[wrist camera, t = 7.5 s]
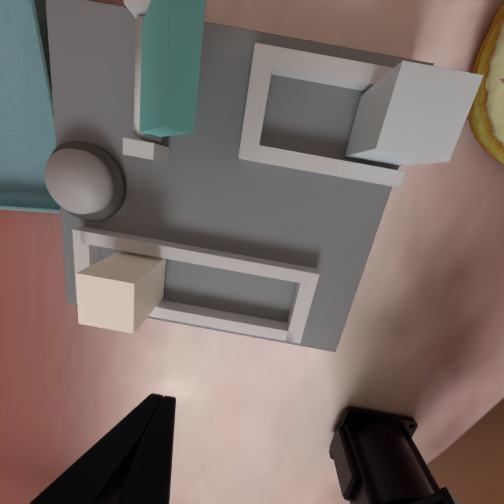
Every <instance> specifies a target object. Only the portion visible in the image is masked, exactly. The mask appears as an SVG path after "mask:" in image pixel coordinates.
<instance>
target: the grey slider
mask: <svg viewBox="0 0 504 504" xmlns="http://www.w3.org/2000/svg"><path fill="white" fill-rule="evenodd" d="M483 76H484V75H480V74H474V73H469V72H463V71H458V70H452V69H447V68H441V67H436V66H430V65H425V64H419V63H414V62H408V61H402V62H400V63H399V64H398V65H397V66H396V67H394V68H393V69H392V70H391V71H390V72H389V73H387V74H386V75H385V76H384V77H383V78H382V79H380V80H379V81H378V82H377V83H376V84H374V85H373V86H372V87H371V88H370V89H369V90H367V91H366V92H365V93H364V94H363V95H362V96H361V98H360V102H359V105H358V109H357V113H356V116H355V120H354V124H353V127H352V131H351V135H350V138H349V142H348V146H347V149H346V153H345V157H350V158H355V159H361V160H366V161H372V162H377V163H383V164H388V165H394V166H405V165H417V164H429V163H441V162H449V161H450V158H451V156H452V153H453V151H454V148H455V146H456V143H457V141H458V138H459V136H460V133H461V131H462V128H463V126H464V123H465V121H466V118H467V116H468V113H469V111H470V108H471V106H472V103H473V101H474V98H475V96H476V93H477V91H478V88H479V86H480V83H481V81H482V78H483Z"/></svg>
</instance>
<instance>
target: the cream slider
mask: <svg viewBox="0 0 504 504" xmlns="http://www.w3.org/2000/svg"><path fill="white" fill-rule="evenodd" d="M165 265H166V259H165V258H160V257H154V256H149V255H143V254H138V253H132V252H127V251H121V250H120V251H118V252H116V253H114V254H113V255H111V256H109V257H107V258H105V259H103V260H101V261H99V262H97V263H95V264H93V265H91V266H89V267H87V268H85V269H83V270H81V271H79V272H77V273H76V285H77V303H78V320H79V324H84V325H89V326H95V327H100V328H106V329H111V330H117V331H122V332H128V333H134V332H135V331H136V330H137V328H138V327H139V326H140V325H141V324H142V323H143V321H144V320H145V319H146V318H147V317H148V315H149V314H150V313H151V312H152V311H153V310H154V308H155V307H156V306H157V305H158V304H159V302H160V301H161V300H162V299H163V295H164V280H165Z"/></svg>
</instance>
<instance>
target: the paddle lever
mask: <svg viewBox="0 0 504 504" xmlns="http://www.w3.org/2000/svg"><path fill="white" fill-rule="evenodd" d="M205 6H206V0H151V2H150V4H149V7H148V9H147V12H146V14H145V16H144V17H137V18H136V30H135V82H134V133H133V136H134V137H138V138H142V139H146V140H151V141H157V142H162V137H165V136H173V135H181V134H190V133H194V128H195V117H196V106H197V95H198V84H199V73H200V62H201V50H202V39H203V28H204V17H205Z"/></svg>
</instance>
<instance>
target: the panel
mask: <svg viewBox="0 0 504 504" xmlns="http://www.w3.org/2000/svg"><path fill="white" fill-rule="evenodd" d="M150 2H151V0H124V5H125V6H126V7H127V8H126V7H121V6H115V5H110V4H104V3H99V2H93V1H88V0H46V13H47V27H48V41H49V55H50V69H51V83H52V97H53V111H54V125H55V139H56V148H55V150H54V151H53V152H52V153H51V155H50V157H49V159H48V161H47V163H46V165H45V170H44V178H45V183H46V186H47V189H48V191H49V193H50V195H51V196H52V198H53V199H54V200H55V201H56V202H57V203H58V204H59V205H60V208H61V222H62V236H63V250H64V264H65V278H66V292H67V303H69V304H74V305H78V303H77V285H76V273H77V272H79V271H81V270H83V269H85V268H87V267H89V266H91V265H93V264H95V263H97V262H99V261H101V260H103V259H105V258H107V257H109V256H111V255H113V254H114V253H116V252H118V251H120V250H121V251H127V252H132V253H138V254H143V255H149V256H154V257H160V258H165V259H166V265H165V280H164V295H163V299H162V300H161V301H160V302H159V304H158V305H157V306H156V307H155V308H154V310H153V311H152V312H151V313H150V314H149V315H148V317H147V318H151V319H157V320H162V321H168V322H173V323H179V324H184V325H190V326H195V327H201V328H206V329H212V330H217V331H223V332H228V333H233V334H239V335H244V336H250V337H255V338H261V339H266V340H272V341H277V342H283V343H288V344H294V345H299V346H305V347H310V348H316V349H321V350H327V351H332V352H336V349H337V346H338V343H339V341H340V338H341V335H342V332H343V329H344V326H345V323H346V320H347V317H348V314H349V311H350V308H351V305H352V302H353V299H354V297H355V294H356V291H357V288H358V285H359V282H360V279H361V276H362V273H363V270H364V267H365V264H366V261H367V258H368V255H369V253H370V250H371V247H372V244H373V241H374V238H375V235H376V232H377V229H378V226H379V223H380V220H381V217H382V214H383V212H384V209H385V206H386V203H387V200H388V197H389V194H390V191H391V188H392V187H402V184H403V181H404V178H405V175H406V172H404V171H398V168H399V166H394V165H388V164H383V163H377V162H372V161H366V160H361V159H355V158H350V157H345V153H346V149H347V146H348V142H349V138H350V135H351V131H352V127H353V124H354V120H355V116H356V113H357V109H358V105H359V102H360V98H361V96H362V95H363V94H364V93H365V92H366V91H367V90H369V89H370V88H371V87H372V86H373V85H374V84H376V83H377V82H378V81H379V80H380V79H382V78H383V77H384V76H385V75H386V74H387V73H389V72H390V71H391V70H392V69H393V68H394V67H396V66H397V65H398V64H399V63H400V62H402V61H408V62H414V63H419V64H425V65H430V66H433V65H434V64H433V63H428V62H422V61H417V60H411V59H406V58H400V57H395V56H389V55H384V54H378V53H373V52H367V51H362V50H356V49H351V48H345V47H340V46H334V45H329V44H323V43H318V42H313V41H307V40H302V39H296V38H291V37H285V36H280V35H274V34H269V33H263V32H258V31H252V30H247V29H241V28H236V27H230V26H225V25H219V24H214V23H208V22H204V28H203V39H202V50H201V62H200V73H199V84H198V95H197V106H196V117H195V128H194V133H190V134H181V135H173V136H165V137H162V142H157V141H151V140H146V139H142V138H138V137H134V136H133V133H134V82H135V30H136V18H137V17H144V16H145V14H146V12H147V9H148V7H149V4H150Z"/></svg>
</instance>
